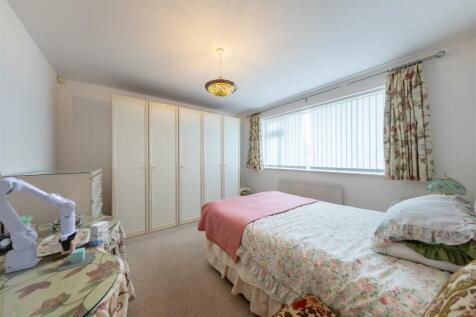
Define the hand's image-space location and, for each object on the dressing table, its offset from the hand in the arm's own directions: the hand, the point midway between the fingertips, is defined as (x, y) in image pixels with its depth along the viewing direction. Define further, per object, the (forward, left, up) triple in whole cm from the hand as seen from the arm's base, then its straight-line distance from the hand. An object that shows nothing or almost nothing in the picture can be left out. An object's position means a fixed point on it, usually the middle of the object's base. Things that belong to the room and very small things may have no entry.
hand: (68, 248), depth 96 cm
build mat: (+6, -10, -3) cm, 12 cm away
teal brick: (+6, -10, -3) cm, 12 cm away
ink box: (+12, +9, -4) cm, 16 cm away
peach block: (0, 0, -2) cm, 2 cm away
